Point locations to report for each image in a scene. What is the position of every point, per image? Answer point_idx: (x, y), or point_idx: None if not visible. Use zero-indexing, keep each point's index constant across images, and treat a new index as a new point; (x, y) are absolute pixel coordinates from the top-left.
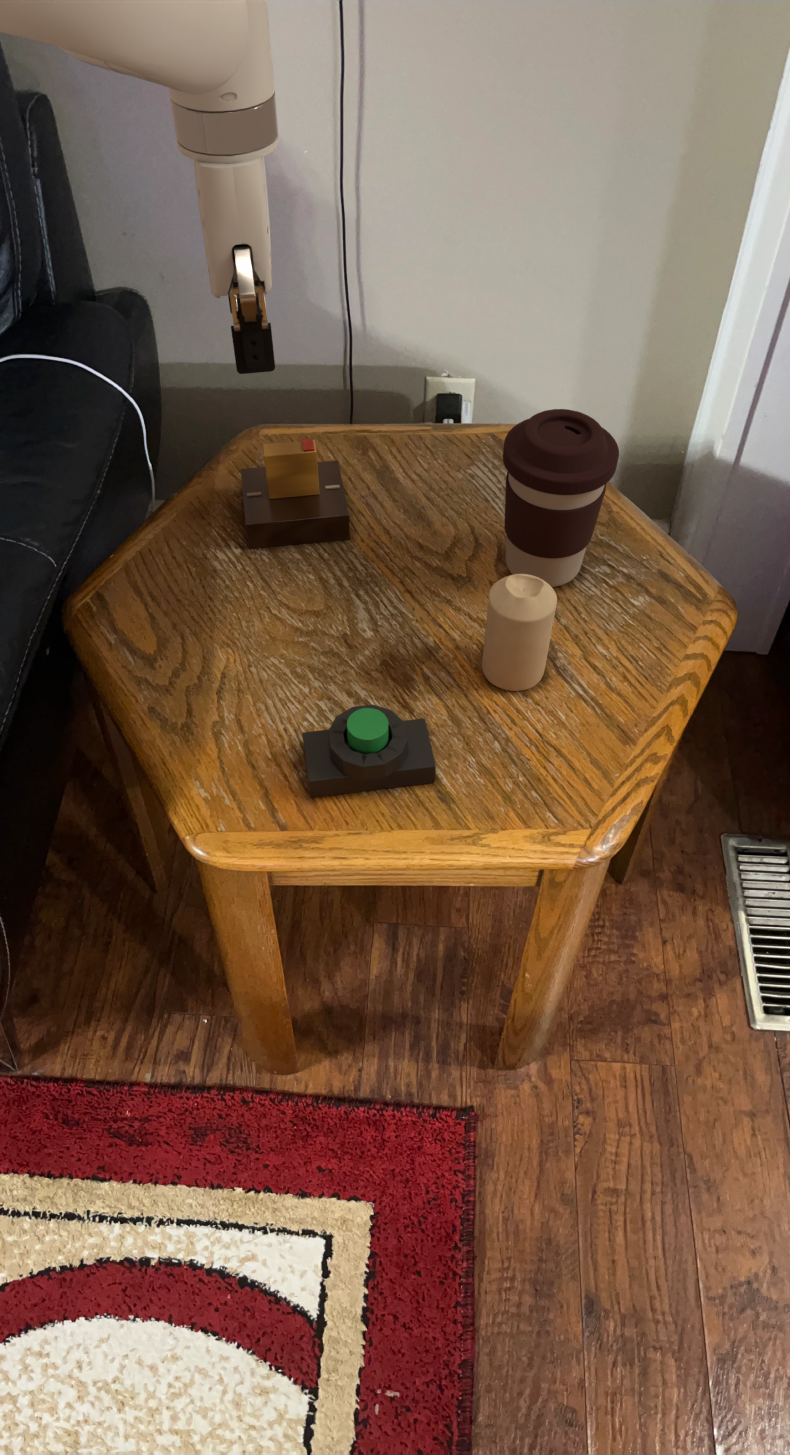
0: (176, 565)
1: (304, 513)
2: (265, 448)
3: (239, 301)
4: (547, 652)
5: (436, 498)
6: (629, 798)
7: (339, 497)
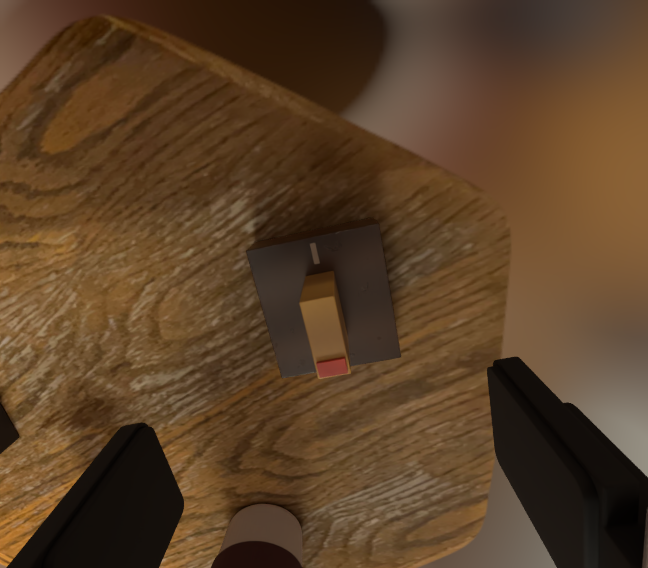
0: (209, 147)
1: (279, 325)
2: (321, 301)
3: (510, 419)
4: None
5: (368, 442)
6: None
7: None
